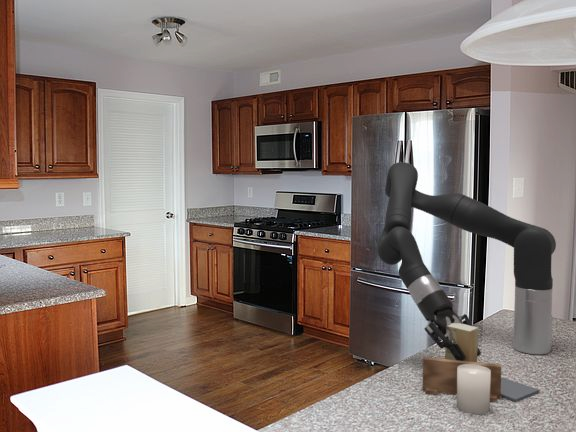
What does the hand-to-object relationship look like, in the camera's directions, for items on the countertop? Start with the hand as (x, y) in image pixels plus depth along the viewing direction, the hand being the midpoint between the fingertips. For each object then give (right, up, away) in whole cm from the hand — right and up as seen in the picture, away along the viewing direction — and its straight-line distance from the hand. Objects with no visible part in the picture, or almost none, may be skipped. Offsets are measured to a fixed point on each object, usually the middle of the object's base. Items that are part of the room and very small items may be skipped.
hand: (470, 358), depth 125 cm
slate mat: (+7, -6, -6) cm, 10 cm away
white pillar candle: (-4, -6, -14) cm, 16 cm away
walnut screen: (-4, -6, -7) cm, 10 cm away
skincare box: (-1, -5, +2) cm, 6 cm away
